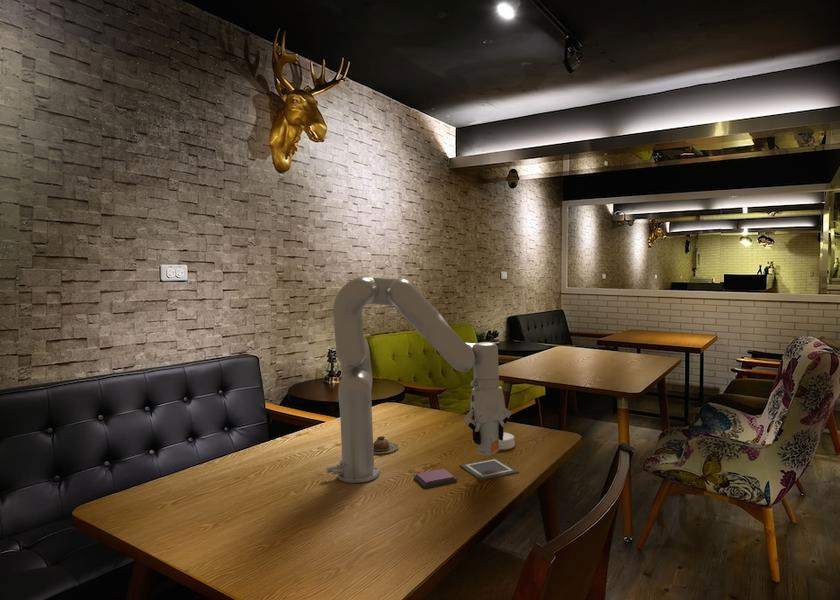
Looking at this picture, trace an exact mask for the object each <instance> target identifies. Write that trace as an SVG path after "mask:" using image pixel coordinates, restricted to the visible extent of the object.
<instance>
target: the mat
mask: <svg viewBox="0 0 840 600" xmlns="http://www.w3.org/2000/svg"><path fill="white" fill-rule="evenodd" d="M459 467H460V468H461V469H463V470H465V471H466V472H468V473H469V474H471V476H473V477H475V478H476V479H478V480H479V481H480V482H481V481H487V480H489V479H490V480H491V479H496V478H500V477H505V476H511V475H515V474H519V473H520V472H519V470H517V469H515V468H514V467H512V466H510V465H508V464H507V463H505V462H504V461H501V460H500V459H499V458H489V459H485V460H480V461H474V462H469V463H465V464H460V465H459Z"/></svg>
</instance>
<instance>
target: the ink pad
mask: <svg viewBox="0 0 840 600" xmlns="http://www.w3.org/2000/svg"><path fill="white" fill-rule="evenodd" d="M413 479H414V480H415V481H416V482H417V483H418V484H419V485H420V486H422V487H423V488H424V489H428V488H432V487H438V486H443V485H447V484H452V483H457V482H458V481H457V477H456V476H454V475H453V474H452V473H450V472H449V471H448V470H446V469H445V468H440V469H434V470H430V471H429V470H428V471H423V472H419V473H416V474H415V475H413Z"/></svg>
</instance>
